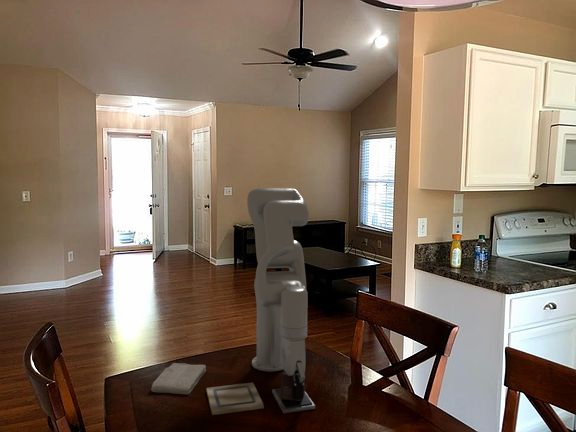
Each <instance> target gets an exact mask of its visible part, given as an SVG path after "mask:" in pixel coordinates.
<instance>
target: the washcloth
mask: <svg viewBox="0 0 576 432" xmlns="http://www.w3.org/2000/svg"><path fill="white" fill-rule="evenodd" d="M206 368H207V366H206V364H189V363H185V362H181V363H179V362H178V363H177V362H173V363H172V364H171V365H169V366H168V367H165V368H164V370H163V371H162V372H161V373H160V374H159V375H158V376H157V378H156V379H155V380H154V381H153V382H152V385H151V389H150V390H151V392H153V393H159V394H160V393H161V394H164V393H165V394H166V393H167V394H173V395H190V394H191V392H193V390H194V388H195V387H196V386H197V384H198V382H199V381H200V380H201V377H202V376H204V374H205V373H206V371H207V369H206Z"/></svg>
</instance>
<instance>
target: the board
mask: <svg viewBox="0 0 576 432" xmlns="http://www.w3.org/2000/svg"><path fill="white" fill-rule="evenodd" d="M206 394H207V399H208V404H209V407H210V411H211V415H212V416H214V415H215V416H216V415H217V416H218V415H222V414H223V415H224V414H229V413H231V414H232V413H237V412H245V411H253V410H260V409H264V408H265V406H264V402H263V400H262V399H261V397H260V394H259V392H258V390H257V388H256V385H255V384H254V382H248V383H247V382H246V383H245V382H244V383H236V384H229V385H221V386H211V387H206Z"/></svg>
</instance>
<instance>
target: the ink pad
mask: <svg viewBox="0 0 576 432" xmlns="http://www.w3.org/2000/svg"><path fill="white" fill-rule="evenodd" d="M271 392H272V395H273V397H274V399H275V401H276V402H277V404H278V406H279V408H280V409H281V412H282V413H283V414H287V413H294V412H295V413H296V412H304V411H309V410H310V411H312V410H315V409H316V404H315V403H314V401H312V399H311V397H309V395H308V393H307V392H306V391H305V393H304V397H303V399H302V401H296V400H285V399H281V387H280V388H273V389H272V391H271Z"/></svg>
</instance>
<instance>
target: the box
mask: <svg viewBox="0 0 576 432" xmlns="http://www.w3.org/2000/svg"><path fill="white" fill-rule="evenodd" d="M294 373H298V371H295V372H294ZM304 375H305V376H306V372H305V373H304ZM280 376H281V377H280V388H281V399H285V400H293V399H292V385H293V378H292V375H291V376H288V375H287V374H286V372H285V371H284V369H283V370H282V372H281V374H280ZM295 378H296V380H297V378H298V376H295ZM305 392H306V377H305V378H304V393H305ZM302 399H303V398H302ZM302 399H294V400H296V401H302Z"/></svg>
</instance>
